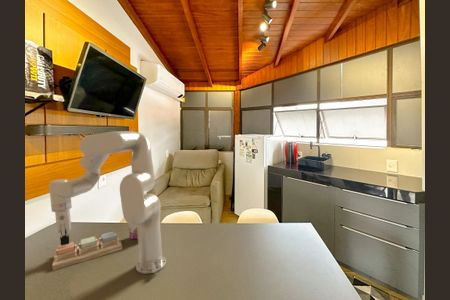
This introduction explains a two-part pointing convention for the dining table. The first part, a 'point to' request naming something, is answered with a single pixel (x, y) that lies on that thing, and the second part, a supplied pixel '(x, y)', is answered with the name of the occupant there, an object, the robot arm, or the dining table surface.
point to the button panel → (86, 253)
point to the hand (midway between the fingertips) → (65, 243)
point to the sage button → (88, 242)
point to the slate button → (108, 237)
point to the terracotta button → (66, 248)
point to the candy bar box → (133, 232)
